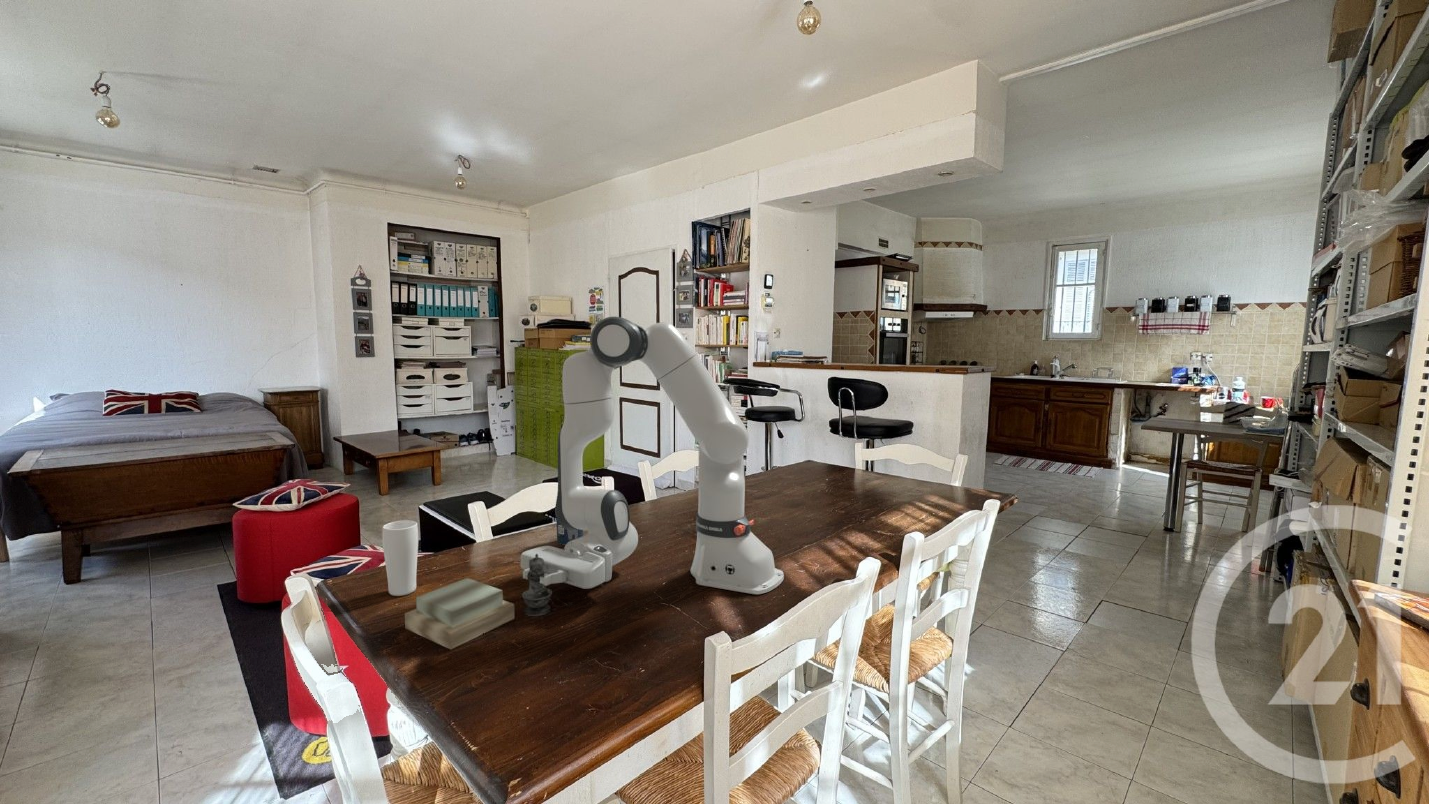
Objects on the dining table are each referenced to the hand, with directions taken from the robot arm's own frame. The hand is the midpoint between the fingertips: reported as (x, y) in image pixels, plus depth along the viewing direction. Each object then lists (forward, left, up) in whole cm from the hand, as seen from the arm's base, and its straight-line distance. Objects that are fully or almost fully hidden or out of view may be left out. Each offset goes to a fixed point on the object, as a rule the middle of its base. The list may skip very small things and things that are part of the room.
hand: (533, 578), depth 118 cm
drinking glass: (+31, +9, -7) cm, 33 cm away
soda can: (+24, -34, -7) cm, 42 cm away
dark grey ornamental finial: (0, -1, -7) cm, 7 cm away
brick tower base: (+8, +11, -7) cm, 15 cm away
